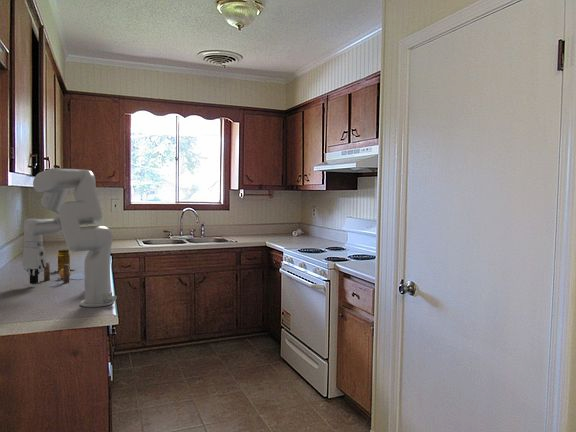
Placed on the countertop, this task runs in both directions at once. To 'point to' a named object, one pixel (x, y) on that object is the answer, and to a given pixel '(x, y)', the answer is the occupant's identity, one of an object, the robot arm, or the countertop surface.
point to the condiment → (63, 259)
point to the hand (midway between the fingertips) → (34, 283)
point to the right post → (66, 273)
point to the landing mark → (76, 276)
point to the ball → (62, 273)
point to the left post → (47, 272)
